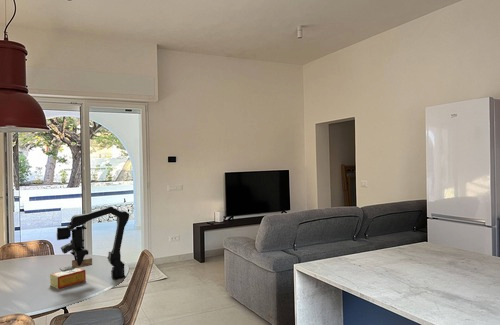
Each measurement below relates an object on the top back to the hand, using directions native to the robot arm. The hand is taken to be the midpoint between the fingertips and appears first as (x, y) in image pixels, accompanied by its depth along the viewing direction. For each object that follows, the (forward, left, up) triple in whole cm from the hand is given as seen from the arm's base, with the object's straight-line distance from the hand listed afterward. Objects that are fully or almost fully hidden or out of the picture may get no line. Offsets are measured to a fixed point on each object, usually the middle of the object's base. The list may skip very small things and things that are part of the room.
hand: (78, 265), depth 209 cm
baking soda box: (+11, -6, -8) cm, 15 cm away
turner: (+1, 0, -1) cm, 1 cm away
